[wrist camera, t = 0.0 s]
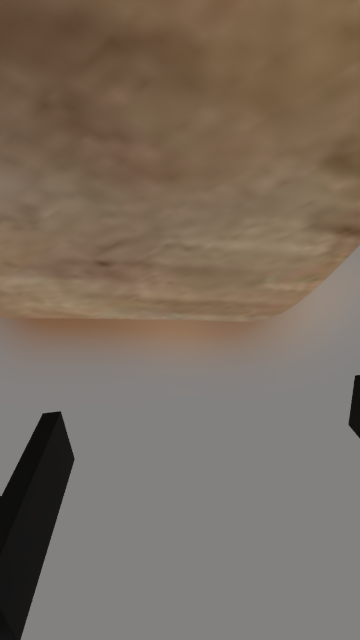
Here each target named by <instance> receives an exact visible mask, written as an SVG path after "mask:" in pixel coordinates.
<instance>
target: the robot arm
mask: <svg viewBox="0 0 360 640" xmlns="http://www.w3.org/2000/svg"><path fill="white" fill-rule="evenodd" d="M349 426H350V427H351V428H352V429H353V431H354V432H355V433H356V434H357V436H358V437H359V438H360V375H357V376H355V380H354V388H353V395H352V403H351V410H350V418H349ZM73 463H74V455H73V452H72V449H71V445H70V442H69V438H68V435H67V432H66V428H65V424H64V421H63V418H62V414H61V412H52V413H43V414H42V417H41V418H40V421H39V422H38V425H37V427H36V429H35V430H34V432H33V434H32V437H31V439H30V440H29V443H28V444H27V446H26V449H25V450H24V452H23V454H22V456H21V458H20V461H19V462H18V464H17V466H16V468H15V470H14V472H13V475H12V476H11V478H10V481H9V483H8V485H7V487H6V488H5V490H4V493H3V494H2V496H0V640H20V639H21V636H22V633H23V629H24V626H25V623H26V619H27V616H28V613H29V609H30V606H31V603H32V599H33V596H34V593H35V589H36V586H37V583H38V579H39V576H40V573H41V569H42V566H43V562H44V559H45V556H46V553H47V549H48V546H49V543H50V539H51V536H52V533H53V529H54V526H55V523H56V519H57V516H58V513H59V509H60V506H61V503H62V499H63V496H64V493H65V489H66V486H67V483H68V479H69V476H70V473H71V469H72V466H73Z"/></svg>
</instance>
